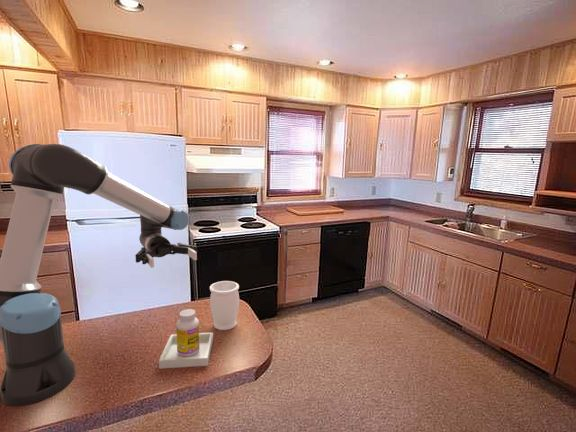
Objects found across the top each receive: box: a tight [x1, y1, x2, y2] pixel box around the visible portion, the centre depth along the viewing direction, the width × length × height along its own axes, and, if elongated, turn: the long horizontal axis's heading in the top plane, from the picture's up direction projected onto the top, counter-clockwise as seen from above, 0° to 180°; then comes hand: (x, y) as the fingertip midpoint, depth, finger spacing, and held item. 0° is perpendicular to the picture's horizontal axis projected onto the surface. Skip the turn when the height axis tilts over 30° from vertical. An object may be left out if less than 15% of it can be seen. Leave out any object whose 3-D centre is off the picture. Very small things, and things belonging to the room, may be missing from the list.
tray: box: [158, 331, 214, 370], centre depth 94 cm, size 14×14×2 cm
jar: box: [209, 280, 240, 331], centre depth 109 cm, size 11×10×15 cm
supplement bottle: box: [175, 308, 200, 357], centre depth 93 cm, size 7×7×13 cm
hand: (175, 259), depth 97 cm, fingers open, 13 cm apart
